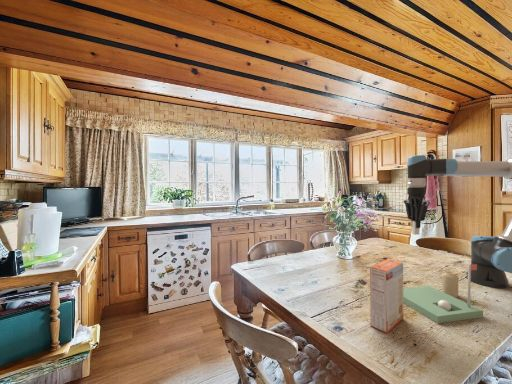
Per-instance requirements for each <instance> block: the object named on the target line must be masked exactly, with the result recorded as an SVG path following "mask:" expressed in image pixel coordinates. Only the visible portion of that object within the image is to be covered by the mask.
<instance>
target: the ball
mask: <svg viewBox="0 0 512 384" xmlns="http://www.w3.org/2000/svg"><path fill="white" fill-rule="evenodd" d="M438 306H439V307H441V308H442V309H444V310H446V311H450V310H451V305H450V304H449V302H447V301H445V300H440V301H439V302H438Z"/></svg>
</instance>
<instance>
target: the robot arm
mask: <svg viewBox="0 0 512 384" xmlns="http://www.w3.org/2000/svg"><path fill="white" fill-rule="evenodd" d="M406 166H407V167H406V168H407V181H406V183H407V190H406V194H407V195H408V197H407V199H406V200H403V203H404V205H405V210H406V216H407V219H408V220H410V221H411V229H412V230H411V231H412V232H411V234H412V235H414V236H415V235H420V229H421V222H423V221H425V219H426V217H427V211H428V207H429V205H430V204H431V203H430V201H428V200H426V197H425V195H426V193H427V191H426V190H427V188H426V186H427V184H426V183H427V182H426V181H427V180H426V177H442V176H443V177H489V178H490V177H495V178H500V177H501V178H504V179H507V180H512V158H508V159H507V160H505V161H504V160H501V161H500V160H499V161H498V160H496V161H493V160H492V161H491V160H490V161H487V160H485V161H483V160H481V161H476V160H475V161H474V160H473V161H463V160H462V161H459V160H458V161H457V160H456V158H449V157H448V158H437V159H436V158H433V159H427V156H426V155H423V154H419V155H410V156H409V157H408V158H407V165H406ZM470 240H471V241H470V243H471V245H470V256H471V257H470V260H471V261H470V265H475V264H477V270H471V282H472V283H475V284H478V285H481V286H485V287H491V288H498V289H499V288H501V289H505V288H509V287H510V286H509V285H510V284H509V282H510V281H509V279H508V277H507V275H506V274H507V273H509V274H512V215H511V217H510V218H509V220H508V222H507V224H506V226H505V228H504V230H503V231H502V233H501V234H497V235H495V236H489V235H473V236H472V237H471V239H470ZM466 279H467V280H468V270H467V271H466Z"/></svg>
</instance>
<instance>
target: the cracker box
mask: <svg viewBox="0 0 512 384" xmlns="http://www.w3.org/2000/svg"><path fill="white" fill-rule="evenodd" d="M369 285H370V286H369V291H370V292H369V295H370V298H369V299H370V300H369V301H370V303H369V304H370V307H369V309H370V326H371V327H372V328H375V329H377V330H379V331H381V332H384V333H386V334H388V333H389V332H390V331H392V329H394V328H395V327H396V325H398V324H399V323H400V322H401V321H402V320H403V319H404V303H403V288H404V262H403V261H398V260H393V259H390V258H386V259H385V260H383V261H380V262H378V263H377V264H374V265H372V266H369Z"/></svg>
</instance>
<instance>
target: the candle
mask: <svg viewBox="0 0 512 384" xmlns="http://www.w3.org/2000/svg"><path fill="white" fill-rule="evenodd" d="M441 276H442V279H441V284H442V285H441V291H442V292H444V293H446V294H448V295H450V296H452V297H455V298H458V297H459V276H458V275H457V274H456V273H455V272H452V271H446V272H443V273H442V274H441Z"/></svg>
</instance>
